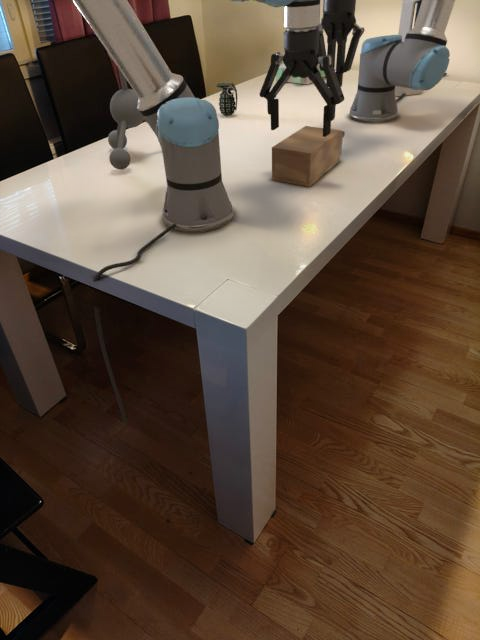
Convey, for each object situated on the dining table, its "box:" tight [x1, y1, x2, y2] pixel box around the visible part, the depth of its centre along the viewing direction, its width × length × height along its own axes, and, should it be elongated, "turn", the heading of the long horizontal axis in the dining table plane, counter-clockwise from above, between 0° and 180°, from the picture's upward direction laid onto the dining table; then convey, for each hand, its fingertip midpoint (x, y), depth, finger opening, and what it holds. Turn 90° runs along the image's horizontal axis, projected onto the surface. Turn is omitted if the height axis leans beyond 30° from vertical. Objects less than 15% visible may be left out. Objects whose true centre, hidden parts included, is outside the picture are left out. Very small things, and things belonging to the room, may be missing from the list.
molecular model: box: [106, 51, 147, 171], centre depth 132 cm, size 24×22×30 cm
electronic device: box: [395, 0, 423, 98], centre depth 172 cm, size 12×8×30 cm, turn 105°
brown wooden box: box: [271, 125, 343, 188], centre depth 124 cm, size 19×10×8 cm, turn 148°
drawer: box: [340, 130, 345, 157], centre depth 128 cm, size 24×9×6 cm, turn 148°
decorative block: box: [275, 61, 326, 85], centre depth 206 cm, size 26×6×20 cm
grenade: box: [215, 82, 238, 117], centre depth 166 cm, size 7×6×10 cm
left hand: (300, 131), depth 116 cm, fingers open, 13 cm apart
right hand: (333, 100), depth 127 cm, fingers closed
